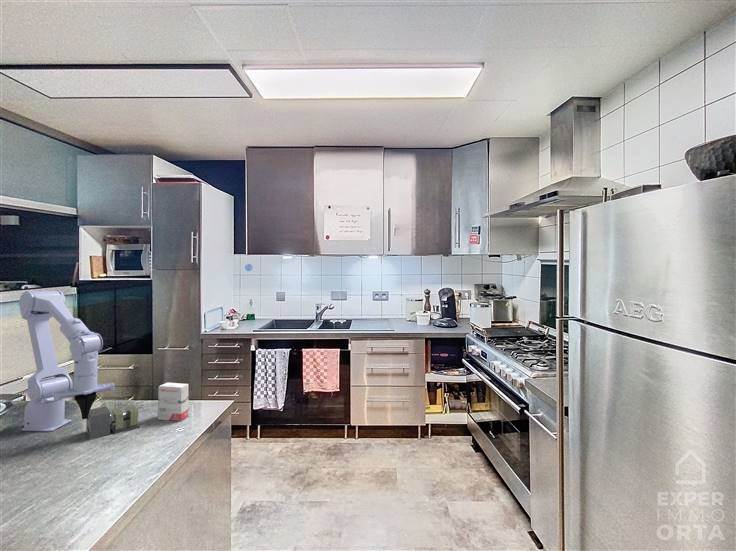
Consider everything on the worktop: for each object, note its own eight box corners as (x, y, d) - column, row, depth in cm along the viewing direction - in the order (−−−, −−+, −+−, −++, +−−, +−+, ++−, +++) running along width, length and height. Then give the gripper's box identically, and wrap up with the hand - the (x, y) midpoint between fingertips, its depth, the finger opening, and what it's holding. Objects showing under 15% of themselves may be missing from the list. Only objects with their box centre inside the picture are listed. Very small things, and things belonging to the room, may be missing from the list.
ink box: (189, 416, 128) (190, 383, 127) (180, 421, 123) (181, 387, 123) (166, 414, 128) (167, 381, 128) (156, 419, 124) (157, 385, 123)
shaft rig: (90, 440, 108) (90, 420, 108) (85, 431, 113) (86, 412, 113) (140, 427, 117) (140, 409, 117) (133, 419, 123) (134, 402, 123)
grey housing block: (89, 439, 108) (90, 416, 108) (86, 431, 113) (86, 410, 113) (110, 434, 112) (110, 412, 112) (105, 426, 117) (106, 406, 117)
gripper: (56, 381, 102) (54, 429, 102) (117, 372, 112) (116, 415, 112) (53, 376, 107) (52, 421, 107) (112, 367, 117) (111, 409, 117)
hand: (84, 418), depth 110 cm, fingers closed
